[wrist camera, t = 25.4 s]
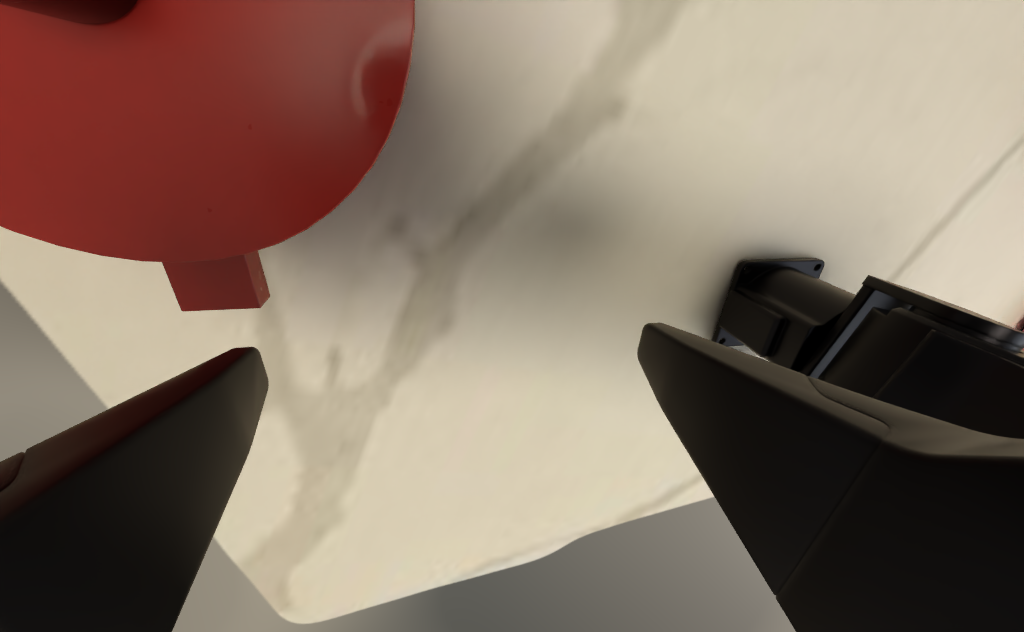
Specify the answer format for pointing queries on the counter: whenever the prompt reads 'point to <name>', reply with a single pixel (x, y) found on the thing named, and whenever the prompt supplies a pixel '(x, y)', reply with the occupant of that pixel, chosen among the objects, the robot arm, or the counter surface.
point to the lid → (192, 119)
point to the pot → (219, 283)
